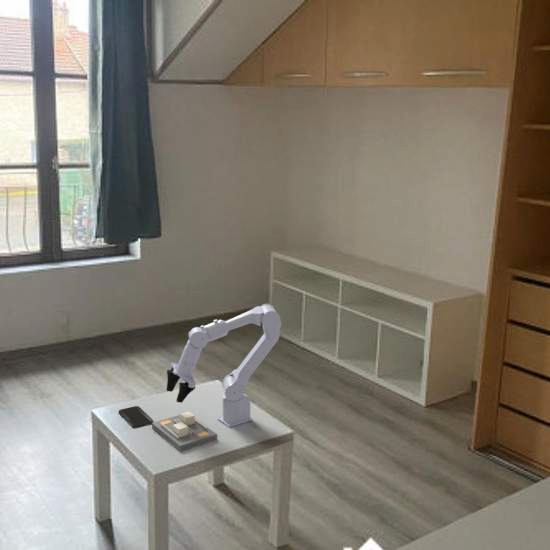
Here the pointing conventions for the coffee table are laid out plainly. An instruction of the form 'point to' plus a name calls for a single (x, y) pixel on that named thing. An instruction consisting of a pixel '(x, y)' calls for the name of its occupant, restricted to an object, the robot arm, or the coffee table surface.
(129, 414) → the phone
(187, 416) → the tab
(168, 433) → the switch board
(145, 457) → the coffee table surface
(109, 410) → the coffee table surface
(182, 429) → the tab
